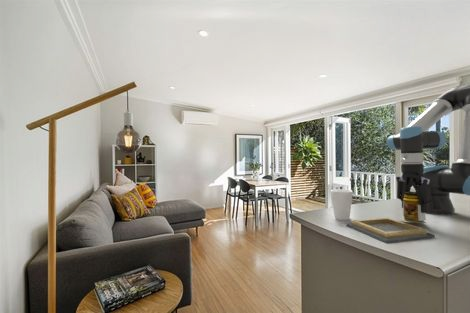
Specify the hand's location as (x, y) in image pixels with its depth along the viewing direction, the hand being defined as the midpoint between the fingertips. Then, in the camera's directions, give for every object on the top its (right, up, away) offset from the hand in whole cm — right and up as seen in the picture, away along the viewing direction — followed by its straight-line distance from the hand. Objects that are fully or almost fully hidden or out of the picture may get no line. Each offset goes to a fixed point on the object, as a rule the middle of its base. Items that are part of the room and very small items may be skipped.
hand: (414, 218), depth 98 cm
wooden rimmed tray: (-17, -3, -8) cm, 19 cm away
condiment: (0, -1, +1) cm, 1 cm away
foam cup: (-25, -3, +11) cm, 28 cm away
